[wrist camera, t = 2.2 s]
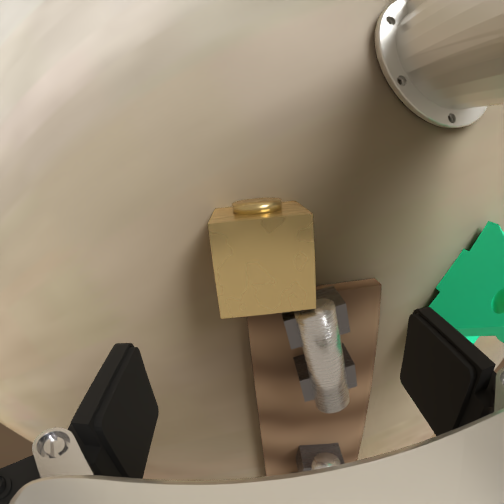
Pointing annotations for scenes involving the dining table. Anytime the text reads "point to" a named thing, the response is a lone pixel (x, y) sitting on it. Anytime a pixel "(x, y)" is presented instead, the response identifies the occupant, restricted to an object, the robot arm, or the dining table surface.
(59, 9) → the dining table surface
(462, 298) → the camera mount
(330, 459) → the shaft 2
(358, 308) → the shaft bed
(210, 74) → the dining table surface
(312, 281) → the gold square block
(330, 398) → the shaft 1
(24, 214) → the dining table surface
